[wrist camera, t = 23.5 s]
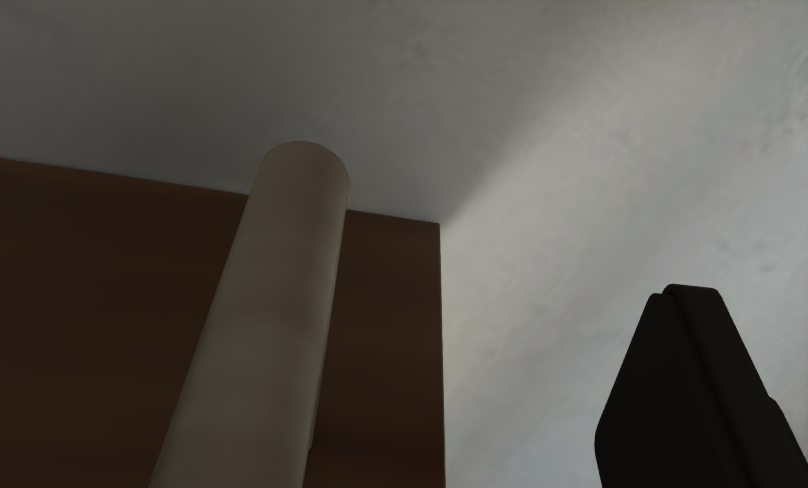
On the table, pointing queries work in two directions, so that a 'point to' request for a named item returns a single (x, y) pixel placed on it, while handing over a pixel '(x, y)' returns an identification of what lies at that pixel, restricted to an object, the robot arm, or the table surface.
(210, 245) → the cabinet door
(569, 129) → the table surface
